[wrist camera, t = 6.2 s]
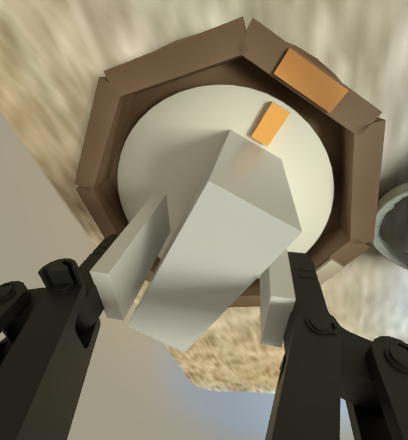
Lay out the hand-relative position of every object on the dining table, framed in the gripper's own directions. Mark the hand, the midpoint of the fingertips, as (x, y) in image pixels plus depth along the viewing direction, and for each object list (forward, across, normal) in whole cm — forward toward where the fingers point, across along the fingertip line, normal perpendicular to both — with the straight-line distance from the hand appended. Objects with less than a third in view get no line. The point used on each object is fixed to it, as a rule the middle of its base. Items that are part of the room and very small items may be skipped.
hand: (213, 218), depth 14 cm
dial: (+2, 0, 0) cm, 2 cm away
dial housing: (+4, 0, 0) cm, 4 cm away
